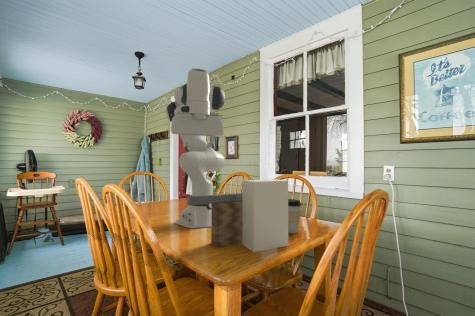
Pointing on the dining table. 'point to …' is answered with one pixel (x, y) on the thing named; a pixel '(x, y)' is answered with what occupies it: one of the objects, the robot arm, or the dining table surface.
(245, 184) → the stand
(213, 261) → the dining table surface
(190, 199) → the rod
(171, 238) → the dining table surface
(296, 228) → the coffee cup
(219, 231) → the block
